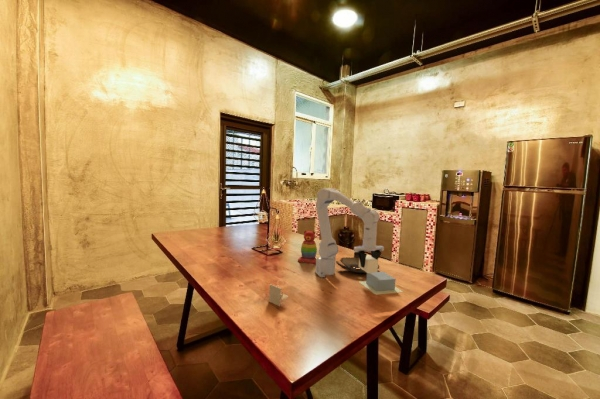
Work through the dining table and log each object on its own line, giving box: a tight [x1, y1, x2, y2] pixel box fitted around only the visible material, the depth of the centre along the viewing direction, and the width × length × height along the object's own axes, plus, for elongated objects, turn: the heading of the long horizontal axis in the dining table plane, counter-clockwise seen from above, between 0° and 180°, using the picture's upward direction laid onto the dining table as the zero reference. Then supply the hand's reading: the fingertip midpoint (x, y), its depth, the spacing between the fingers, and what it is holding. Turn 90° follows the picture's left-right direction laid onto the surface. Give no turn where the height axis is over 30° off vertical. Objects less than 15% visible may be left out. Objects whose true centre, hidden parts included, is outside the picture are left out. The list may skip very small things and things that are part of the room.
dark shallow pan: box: [335, 251, 380, 274], centre depth 142 cm, size 22×30×8 cm
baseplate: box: [359, 280, 404, 296], centre depth 118 cm, size 14×14×1 cm
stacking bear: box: [297, 230, 318, 265], centre depth 152 cm, size 11×10×18 cm
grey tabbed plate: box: [268, 283, 289, 307], centre depth 101 cm, size 3×7×7 cm, turn 53°
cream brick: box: [359, 254, 379, 274], centre depth 119 cm, size 5×8×6 cm, turn 17°
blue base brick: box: [365, 271, 396, 292], centre depth 118 cm, size 9×9×5 cm
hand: (367, 266), depth 119 cm, fingers closed on cream brick, 5 cm apart
